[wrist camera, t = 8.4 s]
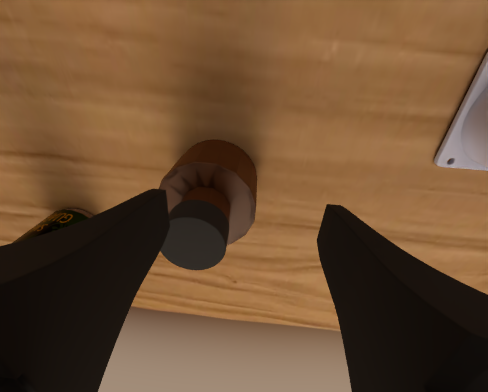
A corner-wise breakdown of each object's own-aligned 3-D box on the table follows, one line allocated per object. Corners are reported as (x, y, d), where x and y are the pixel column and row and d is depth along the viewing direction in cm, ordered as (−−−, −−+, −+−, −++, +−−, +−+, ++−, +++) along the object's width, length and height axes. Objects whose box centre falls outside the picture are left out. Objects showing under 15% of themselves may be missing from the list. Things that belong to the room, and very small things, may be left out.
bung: (232, 192, 15) (226, 220, 12) (230, 240, 17) (224, 273, 14) (172, 186, 15) (152, 213, 12) (176, 235, 17) (160, 267, 14)
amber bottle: (260, 143, 19) (260, 181, 13) (252, 214, 22) (249, 271, 16) (176, 136, 19) (136, 170, 13) (181, 207, 22) (151, 261, 16)
